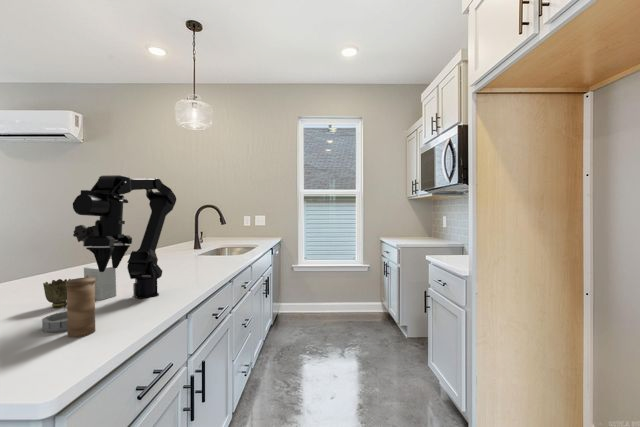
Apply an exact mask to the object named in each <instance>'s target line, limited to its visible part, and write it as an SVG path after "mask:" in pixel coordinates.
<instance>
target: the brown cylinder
mask: <svg viewBox="0 0 640 427" xmlns="http://www.w3.org/2000/svg"><path fill="white" fill-rule="evenodd" d="M70 279H71V280H69V279H67V281H66V286H67V305H66V311H67V326H68V330H67V337H68V338H72V339H74V338H75V339H76V338H83V337H86V336H90V335H91V334H94V333H95V332H96V299H95V282H96V278H93V277H86V278H84V277H78V278H77V277H76V278H70Z"/></svg>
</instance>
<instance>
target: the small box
mask: <svg viewBox="0 0 640 427" xmlns="http://www.w3.org/2000/svg"><path fill="white" fill-rule="evenodd" d="M116 269H117V268H113V266H112V265H107V267H106V269H105V271H104V272H99V269H98V265H97V264H96V265H92V266H86V267H83V278H86V277H93V278H96V282H95V301H96V300H97V301H98V300H99V301H102V300H105V299H109V298H112V297H116V296H117V276H116V273H117V272H116Z"/></svg>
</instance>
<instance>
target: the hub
mask: <svg viewBox="0 0 640 427" xmlns="http://www.w3.org/2000/svg"><path fill="white" fill-rule="evenodd" d="M41 324H42V325H41V327H42V332H44V333H59V332H60V333H61V332H66V331H67V332H68V326H67V310H65V311H61V312H56V313H53V314H50V315H47V316H45V317H43V318H42V319H41Z"/></svg>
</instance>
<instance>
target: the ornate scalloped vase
mask: <svg viewBox="0 0 640 427" xmlns="http://www.w3.org/2000/svg"><path fill="white" fill-rule="evenodd" d="M71 279H72V278H69V279H67V278H65V279H64V280H63V279H60V278H58V279H57V280H55V279H52V281H51V282H48V281H45V282H43V284H42V285H43V290H44V296H45V299H46V301H48V302H49V303H52V304H51V306H52V308H54V309H55V308H56V309H59V308H64V307H67V286H66V281H68V280H71Z"/></svg>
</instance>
